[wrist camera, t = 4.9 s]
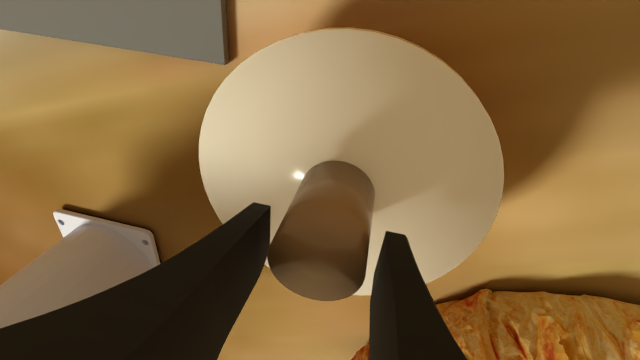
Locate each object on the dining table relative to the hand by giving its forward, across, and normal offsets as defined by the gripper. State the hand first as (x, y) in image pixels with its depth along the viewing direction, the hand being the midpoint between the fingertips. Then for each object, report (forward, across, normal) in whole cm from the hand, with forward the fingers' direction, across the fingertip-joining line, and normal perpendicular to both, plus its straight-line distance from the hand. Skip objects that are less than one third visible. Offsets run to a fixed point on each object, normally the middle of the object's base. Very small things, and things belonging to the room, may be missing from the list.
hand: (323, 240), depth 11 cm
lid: (+3, 0, 0) cm, 3 cm away
